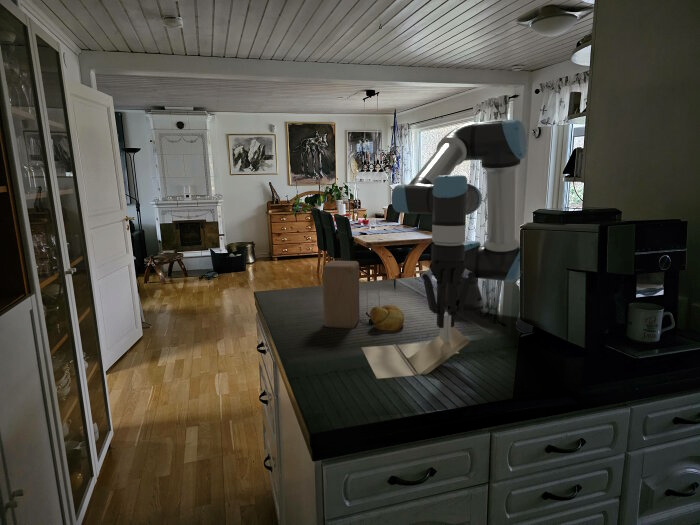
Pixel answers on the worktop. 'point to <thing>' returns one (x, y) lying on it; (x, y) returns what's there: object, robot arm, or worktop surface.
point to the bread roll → (387, 317)
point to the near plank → (437, 352)
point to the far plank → (413, 348)
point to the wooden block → (341, 294)
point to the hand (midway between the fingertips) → (445, 339)
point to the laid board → (388, 361)
